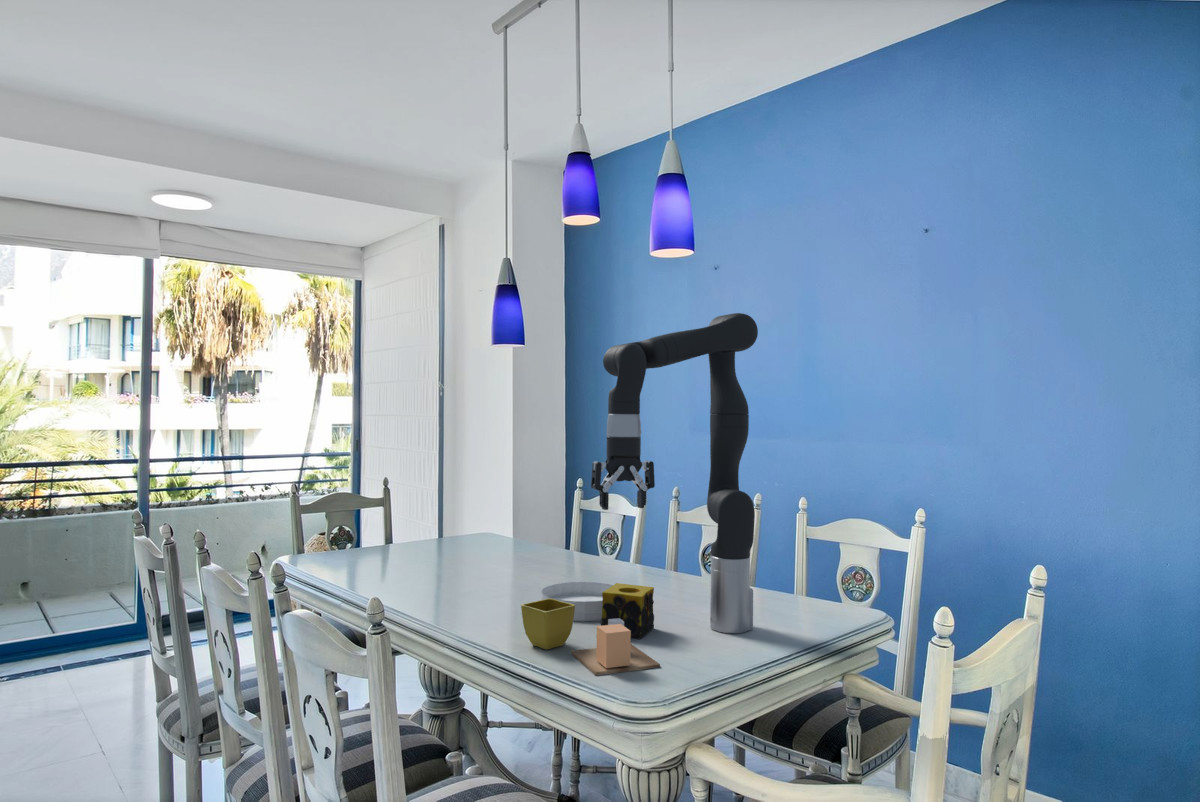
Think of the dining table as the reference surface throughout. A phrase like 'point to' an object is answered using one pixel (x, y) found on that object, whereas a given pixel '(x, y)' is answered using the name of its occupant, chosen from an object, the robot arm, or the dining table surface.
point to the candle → (629, 607)
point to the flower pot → (548, 622)
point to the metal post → (615, 621)
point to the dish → (579, 598)
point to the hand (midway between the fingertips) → (622, 508)
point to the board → (636, 663)
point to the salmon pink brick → (613, 645)
